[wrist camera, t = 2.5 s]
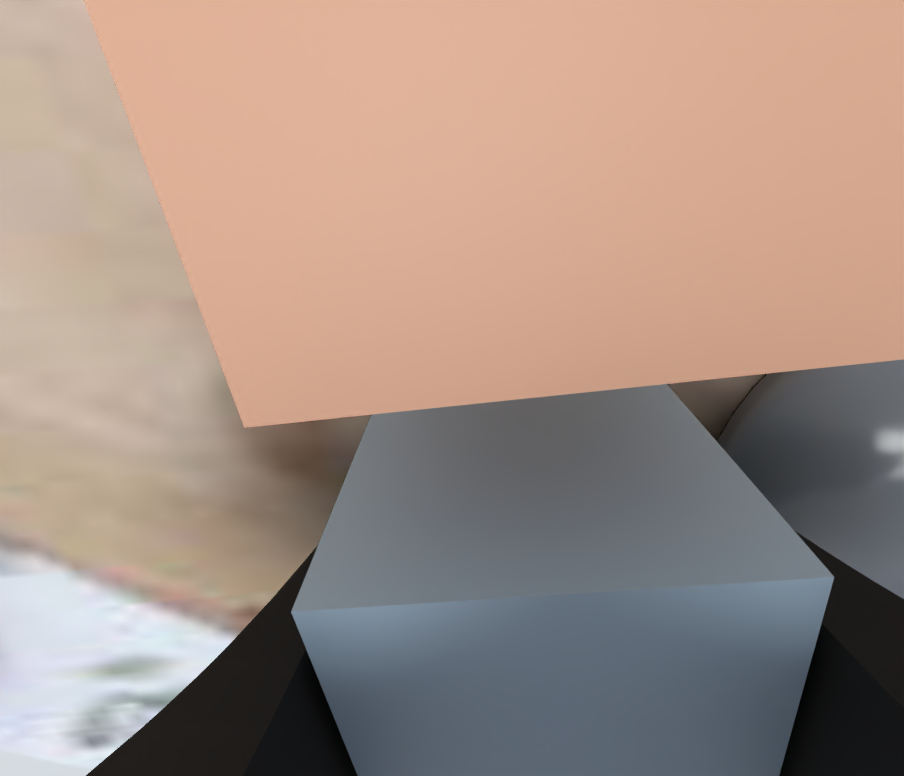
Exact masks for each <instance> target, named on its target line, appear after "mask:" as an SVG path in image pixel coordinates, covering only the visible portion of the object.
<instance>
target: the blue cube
mask: <svg viewBox="0 0 904 776" xmlns="http://www.w3.org/2000/svg"><path fill="white" fill-rule="evenodd" d="M833 580H834V576H833V575H832V574H831V573H830V571H829V570H828V569H827V568H826V567H825V566H824V565H823V563H822V562H821V561H820V560H819V559H818V558H817V556H816V555H815V554H814V553H813V552H812V551H811V550H810V548H809V547H808V546H807V545H806V544H805V543H804V542H803V540H802V539H801V538H800V537H799V536H798V535H797V533H796V532H795V531H794V530H793V529H792V528H791V527H790V525H789V524H788V523H787V522H786V521H785V520H784V518H783V517H782V516H781V515H780V514H779V513H778V512H777V510H776V509H775V508H774V507H773V506H772V505H771V503H770V502H769V501H768V500H767V499H766V498H765V497H764V495H763V494H762V493H761V492H760V491H759V490H758V488H757V487H756V486H755V485H754V484H753V483H752V482H751V480H750V479H749V478H748V477H747V476H746V475H745V473H744V472H743V471H742V470H741V469H740V468H739V467H738V465H737V464H736V463H735V462H734V461H733V460H732V458H731V457H730V456H729V455H728V454H727V453H726V452H725V450H724V449H723V448H722V447H721V446H720V445H719V443H718V442H717V441H716V440H715V439H714V438H713V437H712V435H711V434H710V433H709V432H708V431H707V430H706V428H705V427H704V426H703V425H702V424H701V423H700V422H699V420H698V419H697V418H696V417H695V416H694V415H693V413H692V412H691V411H690V410H689V409H688V408H687V407H686V405H685V404H684V403H683V402H682V401H681V400H680V398H679V397H678V396H677V395H676V394H675V393H674V392H673V390H672V389H671V388H670V387H669V386H668V385H667V384H662V385H652V386H642V387H633V388H623V389H613V390H604V391H594V392H585V393H575V394H565V395H556V396H546V397H536V398H527V399H517V400H507V401H498V402H488V403H478V404H469V405H459V406H449V407H440V408H430V409H421V410H411V411H401V412H392V413H382V414H372V415H371V417H370V419H369V422H368V424H367V426H366V429H365V431H364V434H363V436H362V439H361V441H360V444H359V446H358V449H357V451H356V453H355V456H354V458H353V461H352V463H351V466H350V468H349V471H348V473H347V476H346V478H345V480H344V483H343V485H342V488H341V490H340V493H339V495H338V498H337V500H336V503H335V505H334V508H333V510H332V512H331V515H330V517H329V520H328V522H327V525H326V527H325V530H324V532H323V535H322V537H321V539H320V542H319V544H318V547H317V549H316V552H315V554H314V557H313V559H312V562H311V564H310V566H309V569H308V571H307V574H306V576H305V579H304V581H303V584H302V586H301V589H300V591H299V594H298V596H297V598H296V601H295V603H294V606H293V608H292V611H291V613H292V615H293V618H294V620H295V623H296V625H297V628H298V630H299V633H300V635H301V638H302V640H303V643H304V645H305V647H306V650H307V652H308V655H309V657H310V660H311V662H312V665H313V667H314V670H315V672H316V675H317V677H318V679H319V682H320V684H321V687H322V689H323V692H324V694H325V697H326V699H327V702H328V704H329V707H330V709H331V711H332V714H333V716H334V719H335V721H336V724H337V726H338V729H339V731H340V734H341V736H342V739H343V741H344V743H345V746H346V748H347V751H348V753H349V756H350V758H351V761H352V763H353V766H354V768H355V771H356V773H357V775H358V776H779V775H780V771H781V767H782V764H783V760H784V757H785V753H786V749H787V746H788V742H789V739H790V735H791V731H792V728H793V724H794V721H795V717H796V713H797V710H798V706H799V703H800V699H801V695H802V692H803V688H804V685H805V681H806V677H807V674H808V670H809V667H810V663H811V659H812V656H813V652H814V649H815V645H816V641H817V638H818V634H819V631H820V627H821V623H822V620H823V616H824V613H825V609H826V605H827V602H828V598H829V595H830V591H831V587H832V584H833Z"/></svg>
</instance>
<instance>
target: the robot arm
mask: <svg viewBox="0 0 904 776" xmlns="http://www.w3.org/2000/svg"><path fill="white" fill-rule="evenodd" d="M794 531H795V530H794ZM795 532H796V531H795ZM796 533H797V535H798V536H799V537H800V538H801V539H802V540H803V542H804V543H805V544H806V545H807V546H808V547H809V548H810V550H811V551H812V552H813V553H814V554H815V555H816V556H817V558H818V559H819V560H820V561H821V562H822V563H823V565H824V566H825V567H826V568H827V569H828V570H829V571H830V573H831V574H832V575H833V576H834V580H833V584H832V587H831V591H830V595H829V598H828V602H827V605H826V609H825V613H824V616H823V620H822V623H821V627H820V631H819V634H818V638H817V641H816V645H815V649H814V652H813V656H812V659H811V663H810V667H809V670H808V674H807V677H806V681H805V685H804V688H803V692H802V695H801V699H800V703H799V706H798V710H797V713H796V717H795V721H794V724H793V728H792V731H791V735H790V739H789V742H788V746H787V749H786V753H785V757H784V760H783V764H782V767H781V771H780V775H779V776H904V599H903V598H901V597H899V596H898V595H896V594H894V593H893V592H891V591H889V590H888V589H886V588H884V587H883V586H881V585H879V584H878V583H876V582H874V581H873V580H871V579H869V578H868V577H866V576H865V575H863V574H861V573H860V572H858V571H857V570H855V569H853V568H852V567H850V566H849V565H847V564H845V563H844V562H842V561H841V560H839V559H837V558H836V557H834V556H833V555H831V554H830V553H828V552H827V551H825V550H823V549H822V548H820V547H819V546H817V545H816V544H814V543H813V542H811V541H810V540H808V539H807V538H805V537H804V536H802V535H801V534H799V533H798V532H796ZM317 547H318V546H317ZM317 547H316V548H315V549H314V550H313V552H312V553H311V554H310V555H309V556H308V558H307V559H306V560H305V561H304V562H303V564H302V565H301V566H300V567H299V568H298V569H297V571H296V572H295V573H294V574H293V575H292V576H291V577H290V579H289V580H288V581H287V582H286V583H285V584H284V586H283V587H282V588H281V589H280V590H279V591H278V593H277V594H276V595H275V596H274V597H273V598H272V599H271V601H270V602H269V603H268V604H267V605H266V606H265V607H264V608H263V609H262V610H261V611H260V612H259V613H258V615H257V616H256V617H255V618H254V619H253V620H252V621H251V622H250V623H249V624H248V625H247V626H246V627H245V629H244V630H243V631H242V632H241V633H240V634H239V635H238V636H237V637H236V638H235V639H234V640H233V641H232V643H231V644H230V645H229V646H228V647H227V648H226V649H225V650H224V651H223V652H222V653H221V654H220V655H219V656H218V657H217V658H216V659H215V660H214V661H213V662H212V663H211V664H210V665H209V666H208V667H207V668H206V669H205V670H204V671H203V672H202V673H201V674H200V675H199V676H198V677H197V678H195V679H194V680H193V681H192V682H191V683H190V684H189V685H188V686H187V687H186V688H185V689H184V690H183V691H182V692H181V693H179V694H178V695H177V696H176V697H175V698H174V699H173V700H172V701H171V702H170V703H169V704H168V705H167V706H166V707H165V708H163V709H162V710H161V711H160V712H159V713H158V714H157V715H156V716H155V717H154V718H152V719H151V720H150V721H149V722H148V723H147V724H146V725H145V726H144V727H142V728H141V729H140V730H139V731H138V732H137V733H135V734H134V735H133V736H132V737H131V738H130V739H128V740H127V741H126V742H125V743H124V744H122V745H121V746H120V747H119V748H118V749H117V750H115V751H114V752H113V753H112V754H111V755H110V756H108V757H107V758H106V759H105V760H104V761H103V762H101V763H100V764H99V765H98V766H97V767H95V768H94V769H93V770H92V771H91V772H90V773H88V774H87V775H86V776H358V775H357V773H356V771H355V768H354V766H353V763H352V761H351V758H350V756H349V753H348V751H347V748H346V746H345V743H344V741H343V739H342V736H341V734H340V731H339V729H338V726H337V724H336V721H335V719H334V716H333V714H332V711H331V709H330V707H329V704H328V702H327V699H326V697H325V694H324V692H323V689H322V687H321V684H320V682H319V679H318V677H317V675H316V672H315V670H314V667H313V665H312V662H311V660H310V657H309V655H308V652H307V650H306V647H305V645H304V643H303V640H302V638H301V635H300V633H299V630H298V628H297V625H296V623H295V620H294V618H293V615H292V613H291V611H292V608H293V606H294V603H295V601H296V598H297V596H298V594H299V591H300V589H301V586H302V584H303V581H304V579H305V576H306V574H307V571H308V569H309V566H310V564H311V562H312V559H313V557H314V554H315V552H316V549H317Z"/></svg>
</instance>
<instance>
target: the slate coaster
mask: <svg viewBox="0 0 904 776" xmlns="http://www.w3.org/2000/svg"><path fill="white" fill-rule="evenodd" d="M717 442H718V443H719V445H720V446H721V447H722V448H723V449H724V450H725V452H726V453H727V454H728V455H729V456H730V457H731V458H732V460H733V461H734V462H735V463H736V464H737V465H738V467H739V468H740V469H741V470H742V471H743V472H744V473H745V475H746V476H747V477H748V478H749V479H750V480H751V482H752V483H753V484H754V485H755V486H756V487H757V488H758V490H759V491H760V492H761V493H762V494H763V495H764V497H765V498H766V499H767V500H768V501H769V502H770V503H771V505H772V506H773V507H774V508H775V509H776V510H777V512H778V513H779V514H780V515H781V516H782V517H783V518H784V520H785V521H786V522H787V523H788V524H789V525H790V527H791V528H792V529H793V530H795V531H796V532H798V533H799V534H801V535H802V536H804V537H805V538H807V539H808V540H810V541H811V542H813V543H814V544H816V545H817V546H819V547H820V548H822V549H823V550H825V551H827V552H828V553H830V554H831V555H833V556H834V557H836V558H837V559H839V560H841V561H842V562H844V563H845V564H847V565H849V566H850V567H852V568H853V569H855V570H857V571H858V572H860V573H861V574H863V575H865V576H866V577H868V578H869V579H871V580H873V581H874V582H876V583H878V584H879V585H881V586H883V587H884V588H886V589H888V590H889V591H891V592H893V593H894V594H896V595H898V596H899V597H901V598H903V599H904V359H903V360H893V361H884V362H874V363H864V364H855V365H845V366H835V367H826V368H816V369H806V370H797V371H787V372H777V373H768V374H766V375H765V376H764V377H763V379H762V380H761V381H760V382H759V383H758V384H757V385H756V386H755V387H754V388H753V389H752V390H751V392H750V393H749V394H748V395H747V397H746V398H745V399H744V401H743V402H742V403H741V404H740V406H739V407H738V408H737V410H736V411H735V412H734V414H733V415H732V417H731V418H730V420H729V422H728V423H727V425H726V427H725V428H724V430H723V432H722V433H721V435H720V437H719V438H718V440H717Z"/></svg>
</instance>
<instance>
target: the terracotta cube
mask: <svg viewBox="0 0 904 776" xmlns="http://www.w3.org/2000/svg"><path fill="white" fill-rule="evenodd" d="M84 2H85V5H86V7H87V10H88V13H89V15H90V18H91V21H92V23H93V26H94V29H95V31H96V34H97V37H98V39H99V42H100V45H101V47H102V50H103V53H104V55H105V58H106V61H107V63H108V66H109V69H110V71H111V74H112V77H113V79H114V82H115V85H116V87H117V90H118V93H119V95H120V98H121V101H122V103H123V106H124V109H125V111H126V114H127V117H128V119H129V122H130V125H131V127H132V130H133V133H134V135H135V138H136V141H137V143H138V146H139V149H140V151H141V154H142V157H143V159H144V162H145V165H146V167H147V170H148V173H149V175H150V178H151V181H152V183H153V186H154V189H155V191H156V194H157V196H158V199H159V202H160V204H161V207H162V210H163V212H164V215H165V218H166V220H167V223H168V226H169V228H170V231H171V234H172V236H173V239H174V242H175V244H176V247H177V250H178V252H179V255H180V258H181V260H182V263H183V266H184V268H185V271H186V274H187V276H188V279H189V282H190V284H191V287H192V290H193V292H194V295H195V298H196V300H197V303H198V306H199V308H200V311H201V314H202V316H203V319H204V322H205V324H206V327H207V330H208V332H209V335H210V338H211V340H212V343H213V346H214V348H215V351H216V354H217V356H218V359H219V362H220V364H221V367H222V370H223V372H224V375H225V378H226V380H227V383H228V386H229V388H230V391H231V394H232V396H233V399H234V402H235V404H236V407H237V410H238V412H239V415H240V418H241V420H242V423H243V426H244V428H247V427H257V426H266V425H276V424H286V423H295V422H305V421H314V420H324V419H334V418H343V417H353V416H363V415H372V414H382V413H392V412H401V411H411V410H421V409H430V408H440V407H449V406H459V405H469V404H478V403H488V402H498V401H507V400H517V399H527V398H536V397H546V396H556V395H565V394H575V393H585V392H594V391H604V390H613V389H623V388H633V387H642V386H652V385H662V384H671V383H681V382H691V381H700V380H710V379H720V378H729V377H739V376H748V375H758V374H768V373H777V372H787V371H797V370H806V369H816V368H826V367H835V366H845V365H855V364H864V363H874V362H884V361H893V360H903V359H904V0H84Z"/></svg>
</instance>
